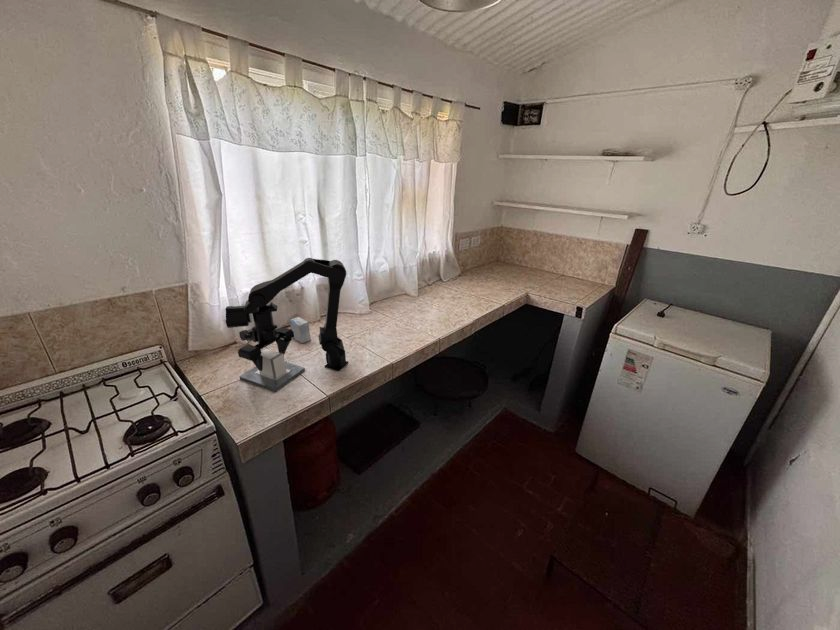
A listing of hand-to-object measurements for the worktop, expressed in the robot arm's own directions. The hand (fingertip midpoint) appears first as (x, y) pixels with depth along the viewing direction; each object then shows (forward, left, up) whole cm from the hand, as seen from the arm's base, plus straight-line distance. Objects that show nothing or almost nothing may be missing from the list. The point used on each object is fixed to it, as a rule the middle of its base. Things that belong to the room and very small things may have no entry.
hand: (271, 364), depth 113 cm
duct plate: (0, 0, -4) cm, 4 cm away
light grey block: (0, 0, -3) cm, 3 cm away
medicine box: (+10, -25, -5) cm, 27 cm away
